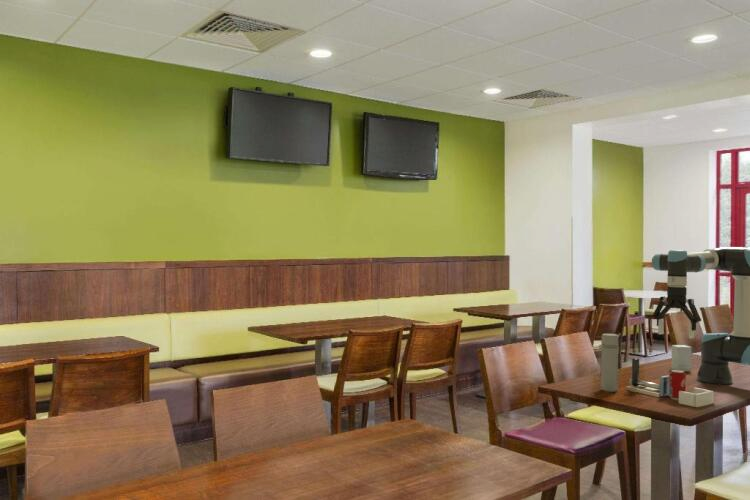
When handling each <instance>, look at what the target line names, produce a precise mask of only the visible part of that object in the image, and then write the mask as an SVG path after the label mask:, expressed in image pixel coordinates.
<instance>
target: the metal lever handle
mask: <svg viewBox="0 0 750 500" xmlns="http://www.w3.org/2000/svg"><path fill="white" fill-rule="evenodd" d="M628 383H629V384H631V386H639V385H640V386H645V387H649V388H654V389H659V390H660V396H662V397H665V396H666V395H667V396H669V374H668V375H662V376H660V377H659V384H658V383H654V382H649V381H645V380H640V358H637V357H632V358H631V378H629V380H628Z"/></svg>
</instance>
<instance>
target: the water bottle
mask: <svg viewBox="0 0 750 500" xmlns="http://www.w3.org/2000/svg"><path fill="white" fill-rule="evenodd" d="M598 346H599V347H598V348H599V352H598V354H600V357H598V358H597V359H598V361H599V364H597V365H596V369H598V368H599V377H598V376H596V379H600V389H601V390H602V391H603V392H606V393H607V392H608V393H615V392H617V391H619V390H618V389H619V334H616V333H602V334H601V344H599V345H598ZM595 373H596V375H598V371H596V372H595Z"/></svg>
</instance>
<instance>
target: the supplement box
mask: <svg viewBox="0 0 750 500" xmlns="http://www.w3.org/2000/svg"><path fill="white" fill-rule="evenodd" d="M670 364H671V367H670V368H671V370H682V371H684V372H692V346H689V345H687V344H672V345H671V363H670Z"/></svg>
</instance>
